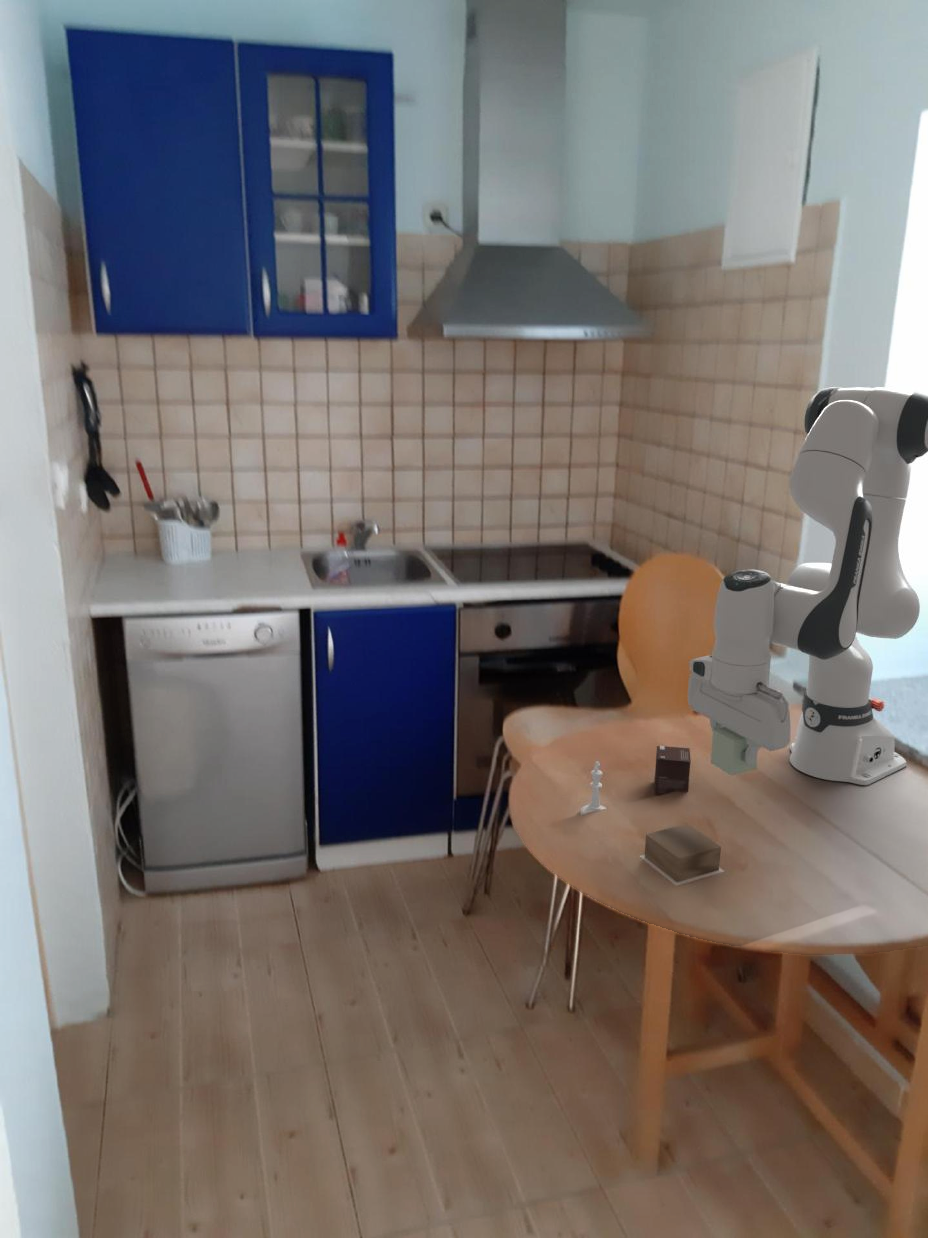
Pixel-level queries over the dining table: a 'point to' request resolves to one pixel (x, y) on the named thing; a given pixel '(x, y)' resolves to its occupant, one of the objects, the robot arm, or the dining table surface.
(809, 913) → the dining table surface
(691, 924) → the dining table surface
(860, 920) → the dining table surface
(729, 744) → the sage block
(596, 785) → the chess piece
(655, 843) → the base block
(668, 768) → the box
